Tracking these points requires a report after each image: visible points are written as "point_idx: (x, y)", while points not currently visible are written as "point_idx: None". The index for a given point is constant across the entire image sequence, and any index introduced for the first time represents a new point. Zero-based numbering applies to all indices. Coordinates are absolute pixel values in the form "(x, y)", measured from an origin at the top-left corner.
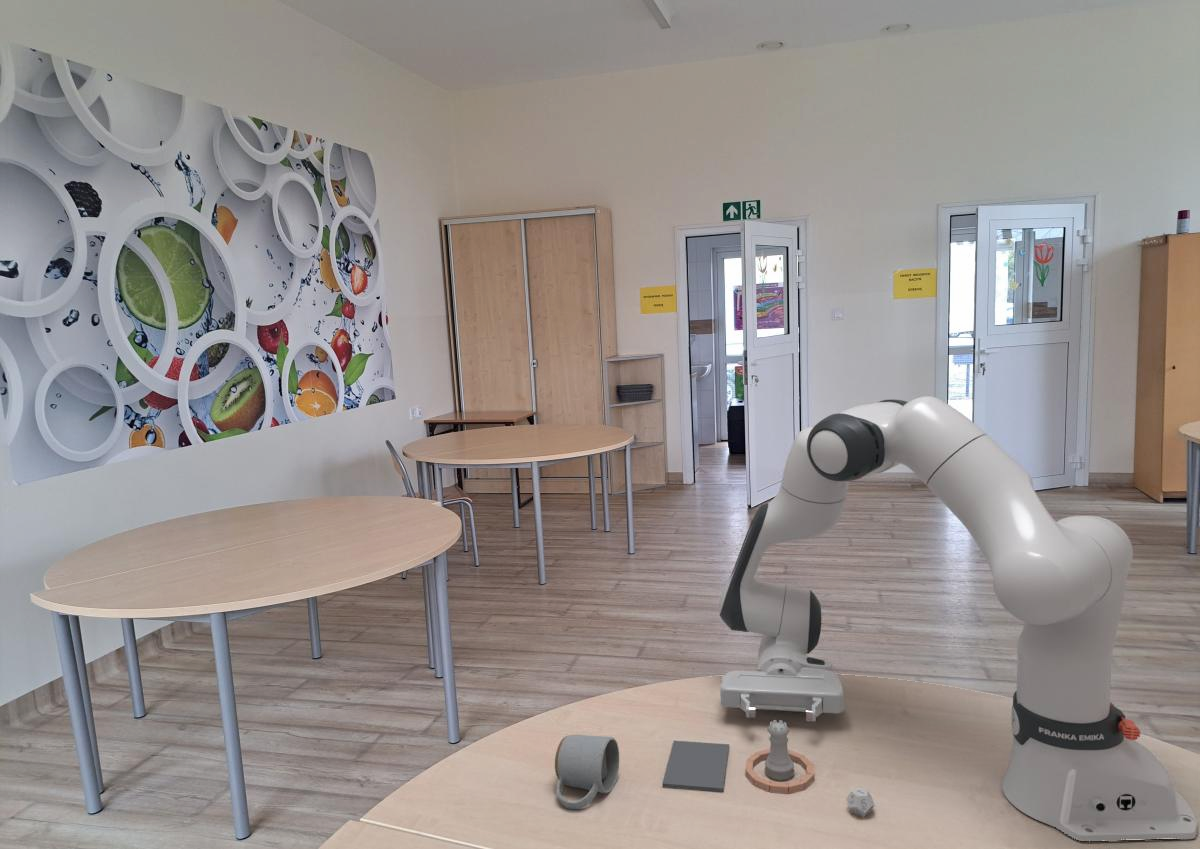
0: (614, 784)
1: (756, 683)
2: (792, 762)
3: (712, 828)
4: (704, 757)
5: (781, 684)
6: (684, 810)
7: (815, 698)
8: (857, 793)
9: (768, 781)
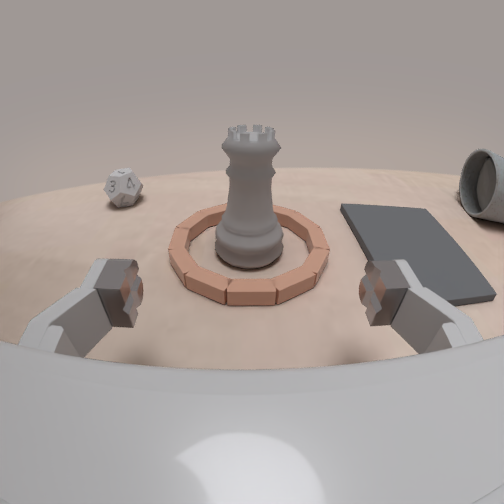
0: (469, 212)
1: (473, 426)
2: (218, 227)
3: (325, 174)
4: (416, 258)
5: (264, 479)
6: (371, 189)
7: (44, 345)
8: (126, 170)
9: None
